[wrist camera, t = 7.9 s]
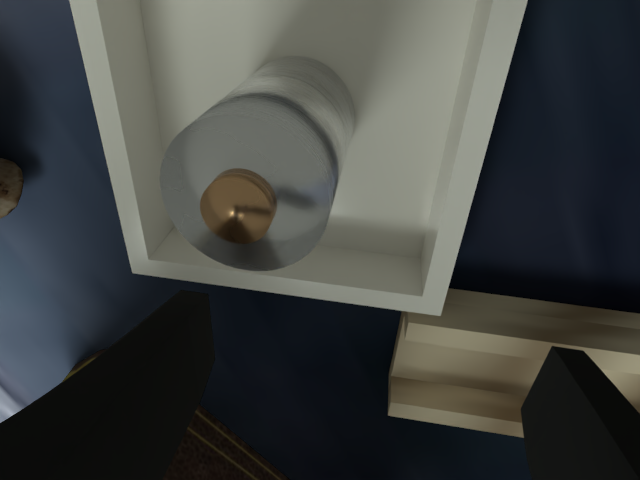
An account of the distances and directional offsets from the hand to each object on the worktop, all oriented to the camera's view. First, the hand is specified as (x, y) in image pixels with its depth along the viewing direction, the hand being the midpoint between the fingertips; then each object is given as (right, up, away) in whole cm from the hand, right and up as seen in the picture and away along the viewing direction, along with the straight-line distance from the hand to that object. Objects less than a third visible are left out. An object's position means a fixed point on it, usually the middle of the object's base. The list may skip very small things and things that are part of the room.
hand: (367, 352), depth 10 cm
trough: (+9, -3, +11) cm, 14 cm away
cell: (-2, +7, +6) cm, 9 cm away
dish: (-2, +7, +7) cm, 10 cm away
